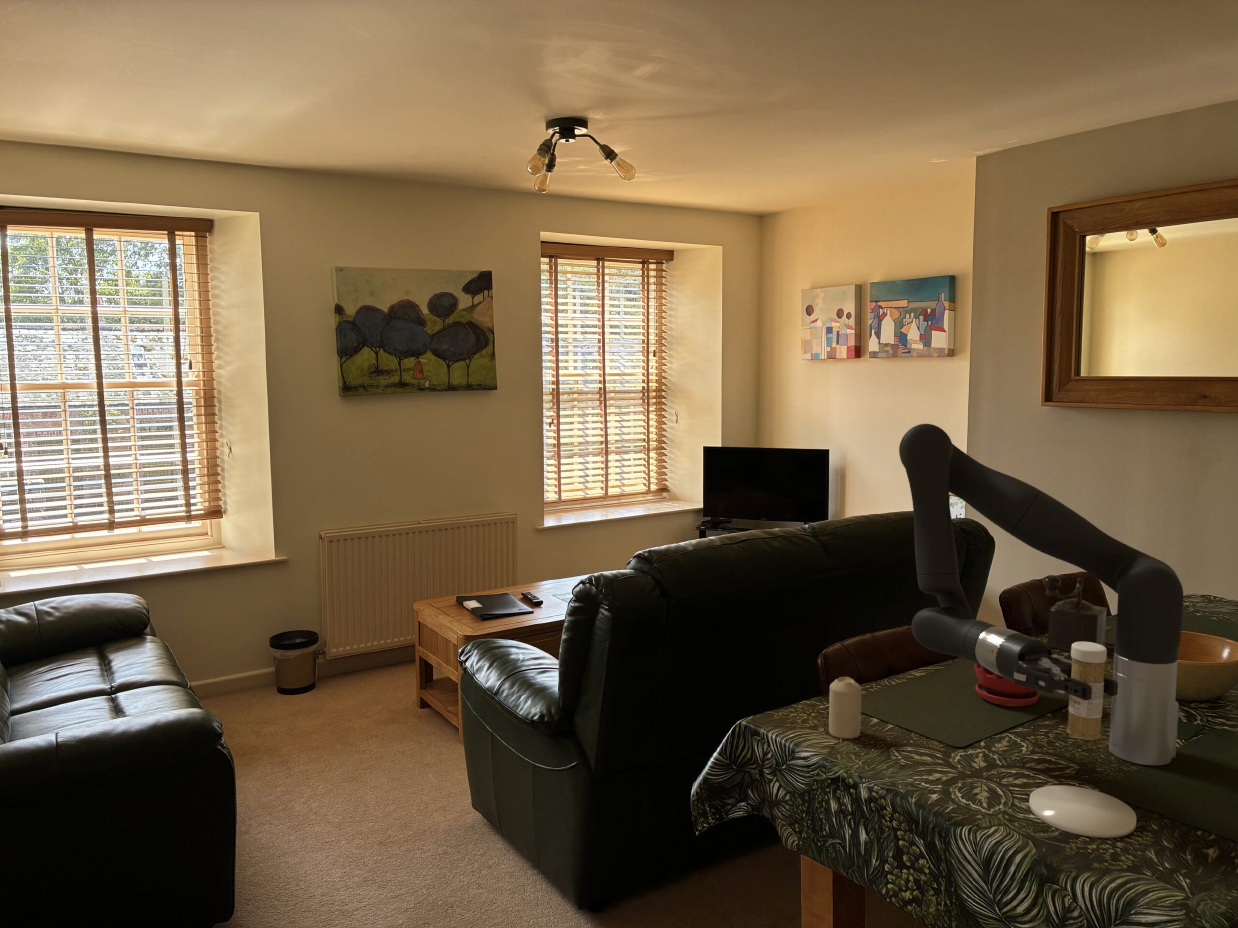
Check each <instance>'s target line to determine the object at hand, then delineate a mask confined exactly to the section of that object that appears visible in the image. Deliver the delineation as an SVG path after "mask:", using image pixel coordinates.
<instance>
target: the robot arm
mask: <svg viewBox="0 0 1238 928" xmlns="http://www.w3.org/2000/svg"><path fill="white" fill-rule="evenodd" d="M898 448H899V449H898V454H899V455H898V456H899V458H900V462H901V464H902V466H903V468H904V469H905V473H906V475H907V476H906V477H907V480H908V484H909V489H910V493H911V494H910V495H911V500H912V508H913V509H912V510H913V529H914V533H913V534H914V535H913V536H914V554H915V566H916V575H917V576H916V577H917V583H918V584H917V585H918V588H919V590H920V591H921V592H923V593H924V594H929V595H933V596H935V597H936V599H937V601H938V603H939V604H940V606H939V607H927V608H923V609H920V611H918V612H916V614H914V617H913V618H912V621H911V632H912V634H913V637H914V639H915V640H916V641H917V642H918V643H919V644H920V645H921V646H922V647H924V648H925V649H927V650H929V651H932V652H935V653H939V654H944V655H948V656H953V657H958V658H961V659H966V660H967V661H970V662H971V663H973V664H974V663H976V664H979V665H981V666H983V667H985V668H987V669H988V670H990V671H992V672H993V673H995V674H998V675H1000V676H1002V677H1005V678H1007V679H1009V680H1012V681H1014V683H1015V684H1019V685H1022V686H1026V687H1029V688H1032V689H1036V691H1038V692H1039V691H1040V692H1043V693H1047V694H1054V691H1056V692H1057V693H1060V694H1068V695H1070V694H1071V695H1073V696H1075V697H1078V698H1080V699H1083V700H1085V701H1086V700H1090V699H1091V695H1092V687H1091V686H1090V685H1089V684H1086V683H1083V682H1081V681H1078V680H1076V679H1073V678H1071V672H1072V660H1070V659H1066V658H1065V657H1063V656H1061V655H1057V654H1054V653H1053V652H1052V651H1051V649H1050V647H1048V645H1047V644H1048V643H1046V642H1044V641H1043V640H1041V639H1039V638H1038V639H1037V638H1035V637H1032V636H1029V635H1026V634H1023V633H1021V632H1018V631H1016V630H1013V629H1010V628H1005V627H1000V626H998V625H995V624H992V623H989V622H987V621H984V620H979V619H974V616H973V613H972V610H971V608H970V605H969V603H968V600H967V598H966V595H965V592H964V589H963V587H962V585H961V581H960V574H959V564H958V563H959V562H958V552H957V545H956V538H955V532H954V527H953V520H952V514H951V513H952V512H951V505H950V504H951V503H950V494H951V495H954V496H955V497H957V498H959V499H960V500H962V501H963V502H964V503H966V504H968V505H969V506H970V507H971V508H973V509H974V510H975V511H976V512H977V513H978V514H979V513H980V515H981V516H983V517H984V518H986V519H987V520H989V521H990V522H991V523H993V524H994V525H996V526H998V527H999V528H1000V529H1002V530H1003V531H1005V532H1006V533H1008V534H1010V536H1013V537H1014V538H1015V539H1017V540H1018V541H1020V542H1021V543H1024V544H1025V545H1027V546H1028V547H1030V548H1032V549H1034V550H1036V551H1038V552H1040V553H1043V554H1045V555H1047V556H1050V557H1052V558H1055V559H1057V560H1060V561H1062V562H1065V563H1068V564H1070V565H1073V566H1075V567H1077V568H1078V569H1082V570H1083V571H1085V572H1087V573H1088V574H1090V575H1091V576H1093V577H1094V578H1096V579H1097V580H1098V581H1099V582H1101V583H1103V584H1104V585H1105V586H1107V587H1108V588H1110V589H1111V590H1113V592H1115V593H1116V594H1117V608H1116V628H1115V635H1114V648H1113V649H1114V650H1113V652H1114V653H1113V667H1112V668H1113V669H1112V670H1113V671H1112V678H1109V677H1107V676H1104V691H1103V695H1104V694H1105V695H1107V696H1110V697H1111V707H1110V708H1111V709H1110V727H1109V728H1110V729H1109V740H1108V741H1109V744H1108V745H1109V746H1108V750H1109V752H1110V753H1111V754H1113V756H1115V757H1117V758H1119V759H1121V760H1124V761H1126V762H1130V763H1134V764H1139V765H1143V766H1164V765H1168V764H1170V763H1171V762H1172V760H1173V758H1176V757H1177V742H1178V741H1177V740H1178V724H1179V723H1178V722H1179V706H1180V705H1179V702H1178V701H1176V697H1177V696H1176V694H1177V692H1176V691H1177V676H1178V663H1179V662H1178V658H1179V650H1180V645H1181V637H1182V628H1183V627H1182V626H1183V625H1182V624H1183V611H1184V588H1183V584H1182V583H1181V581H1180V578H1179V577H1178V575H1177V572H1176V571H1175V570H1174V569H1173V568H1172V567H1171V566H1170V565H1169V564H1167V563H1166V562H1164V561H1163V560H1160V559H1158V558H1156V557H1154V556H1151V555H1150V554H1147V553H1145V552H1142V551H1141V550H1139V549H1136V548H1134V547H1132V546H1130V545H1128V544H1126V543H1124V542H1122V541H1119V540H1118V539H1116V538H1114V537H1112V536H1111V535H1109V534H1107V533H1106V532H1104V531H1103V530H1101V529H1100V528H1099V527H1097V526H1096V525H1095V524H1093V523H1092V522H1090V521H1089V520H1088V519H1086V518H1085V517H1083V516H1082V515H1080V513H1078V512H1076V511H1075V510H1073V509H1071V508H1070V507H1068V506H1067V505H1065V504H1064V503H1063V502H1061V501H1059V500H1058V499H1056V498H1054V497H1053V496H1051V495H1050V494H1047V493H1046V492H1044V491H1043V490H1041V489H1039V488H1037V487H1035V486H1034V485H1032V484H1029V483H1028V482H1025V481H1023V480H1021V479H1018V478H1016V477H1014V476H1011V475H1009V474H1006V473H1004V472H1001V471H998V470H996V469H993V468H990V467H989V466H987V465H984V464H983V463H980V462H979V461H978V460H976V459H974V458H973V457H972V456H970V455H969V454H967V453H966V452H964V451H963V450H961V449H960V448H959V447H958V446H957V445H955V444H954V443H953V442H952V440H951V438H950V436H949V435H948V433H947V432H946V431H945V430H944V429H943V428H942V427H940V426H937V425H935V424H931V423H920V424H916V425H915V426H913V427H911V428H909V429H908V430H907V431H906V432H905V433H904V435H903V436H902V438H901V440H900V442H899V447H898Z"/></svg>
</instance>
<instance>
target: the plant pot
mask: <svg viewBox="0 0 1238 928" xmlns="http://www.w3.org/2000/svg"><path fill="white" fill-rule="evenodd" d="M973 666H974V671H975V675H976V677H977V680H978V682H977V683H976V685H975V691H976V693H977V694H978V696H980V697H981V698H982V699H983V700H986V701H987V702H989V703H993V704H996V705H999V706H1001V705H1002V706H1003V707H1025V706H1029V705H1033V704H1035V703H1036V702H1037V701H1038V700H1039V697H1040V693H1039V690H1036V689H1032V688H1029V687H1026V686H1022V685H1019V684H1015V683H1014V681H1012V680H1009V679H1007V678H1005V677H1002V676H1000V675H998V674H995V673H993V672H992V671H990V670H988V669H987V668H985V667H983V666H981V665H979V664H976V663H974V662H973Z"/></svg>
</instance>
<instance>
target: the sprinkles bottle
mask: <svg viewBox="0 0 1238 928" xmlns="http://www.w3.org/2000/svg"><path fill="white" fill-rule="evenodd" d="M1107 653H1108V651H1107V648H1106V647H1105V646H1102V645H1100V644H1097V643H1092V642H1075V643H1073V644H1072V647H1071V652H1070V657H1071V661H1072V672H1071V678H1073V679H1076V680H1078V681H1081V682H1083V683H1086V684H1089V685H1090V686H1091V687H1092V695H1091V699H1090V700H1086V701H1085V700H1083V699H1080V698H1078V697H1075V696H1073V695H1071V694H1069V695H1068V697H1069V698H1068V717H1067V719H1068V720H1067V727H1066V732H1067V733H1068V735H1070V736H1072V737H1074V738H1076V739H1080V740H1086V741H1087V740H1090V741H1091V740H1098V739H1100V738H1101V736H1102V732H1101V725H1102V724H1101V723H1102V715H1103V705H1104V704H1103V703H1104V693H1103V691H1104V677H1105V665H1106V662H1107Z"/></svg>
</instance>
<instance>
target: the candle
mask: <svg viewBox="0 0 1238 928" xmlns="http://www.w3.org/2000/svg"><path fill="white" fill-rule="evenodd" d="M828 699H829V702H828V705H829V708H828V713H829V714H828V716H829V717H828V732H829V734H830V735H831V736H834V737H836V738H840V739H847V740H848V739H856V738H859V736H860V735H861V727H862V725H861V724H862V723H861V721H862V720H861V719H862V718H861V717H862V687H861V685H860V684H859V683H857V682H856V681H855V680H854V679H853V678H851V677H850V676H840V677H839V678H836V679H835V680H834V681H833V682H831V683H830V685H829V698H828Z"/></svg>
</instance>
